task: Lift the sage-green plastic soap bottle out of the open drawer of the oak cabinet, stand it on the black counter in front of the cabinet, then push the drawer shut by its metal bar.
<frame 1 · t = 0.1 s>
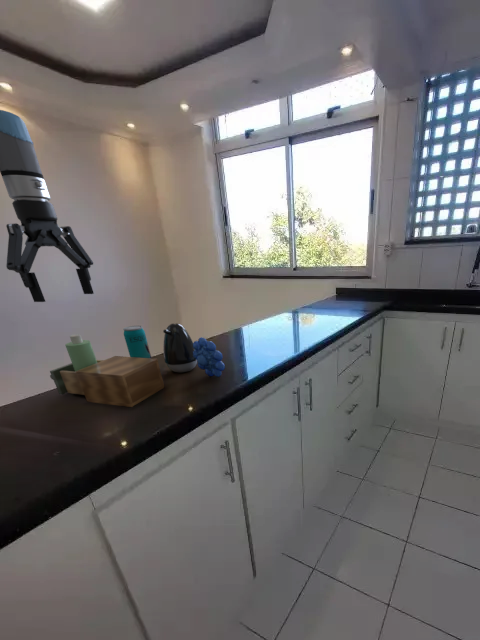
hand: (66, 297, 80), 25 cm above the table, tool pointing down, fingers open, 13 cm apart
soap bottle: (92, 384, 88), point 2 cm above the table, touching drawer
beverage can: (145, 374, 99), on the table
cabinet: (127, 394, 85), on the table
drawer: (86, 376, 87), point 4 cm above the table, slide at 9.0 cm, touching soap bottle
grapes: (209, 377, 95), on the table
pump dispenser: (183, 370, 101), on the table
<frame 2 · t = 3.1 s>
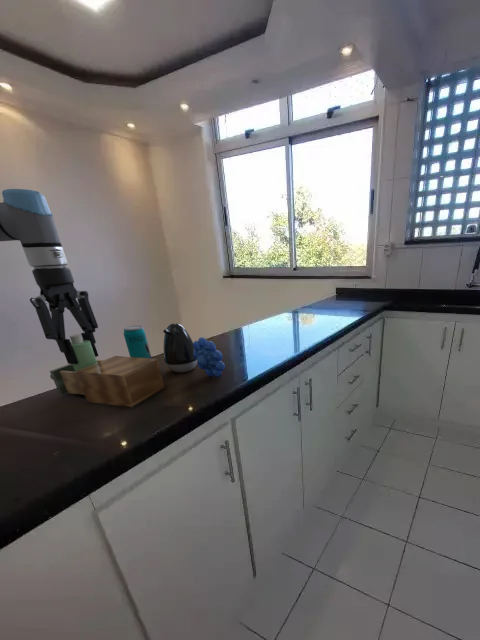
hand: (83, 359, 84), 9 cm above the table, tool pointing down, fingers closed on soap bottle, 6 cm apart
soap bottle: (92, 384, 88), point 2 cm above the table, touching drawer, gripper
everything else where it was.
when the fingers open (7 cm above the table, at t = 10.5 s): soap bottle stays where it is, on the table.
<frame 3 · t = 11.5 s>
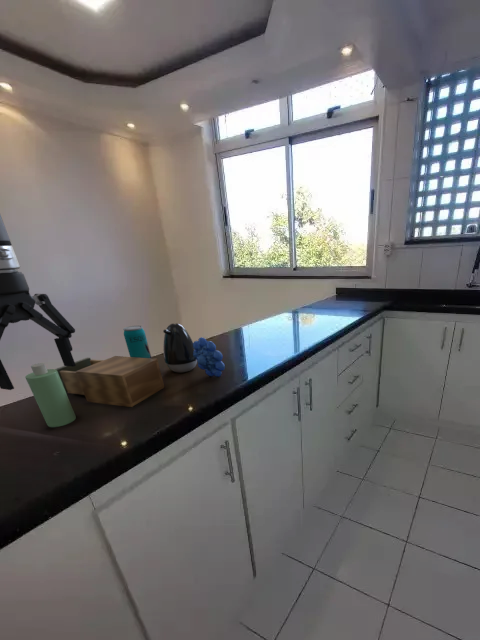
hand: (41, 376, 68), 11 cm above the table, tool pointing down, fingers open, 13 cm apart
soap bottle: (62, 421, 73), on the table
drawer: (86, 376, 87), point 4 cm above the table, slide at 9.0 cm
everything else where it was.
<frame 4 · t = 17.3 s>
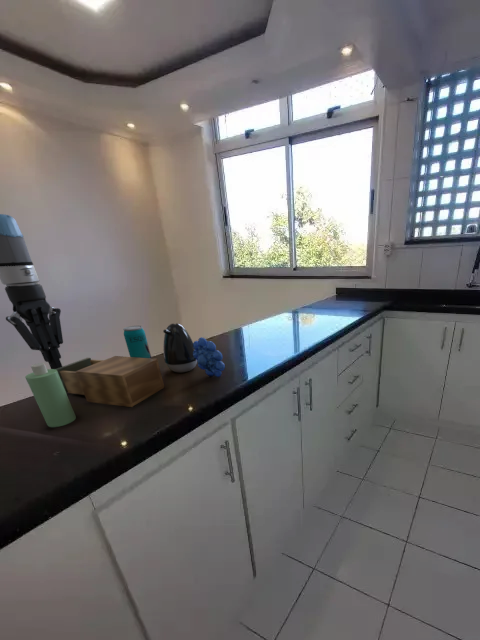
hand: (58, 370, 89), 5 cm above the table, tool pointing down, fingers closed
drawer: (86, 376, 87), point 4 cm above the table, slide at 8.9 cm, touching gripper
everything else where it was.
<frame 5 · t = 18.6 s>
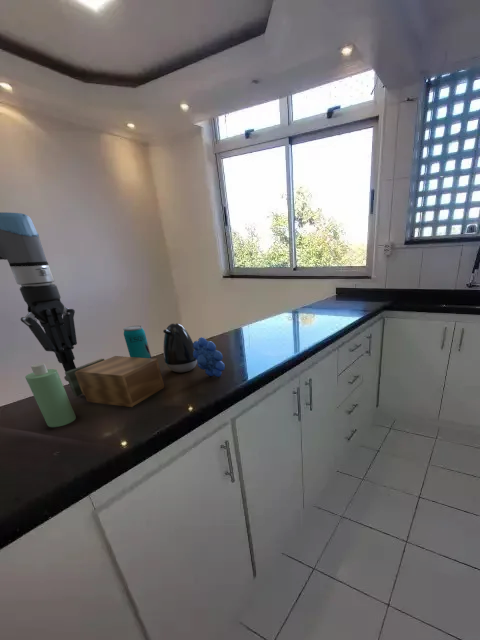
hand: (71, 372, 88), 5 cm above the table, tool pointing down, fingers closed
drawer: (100, 377, 85), point 4 cm above the table, slide at 3.7 cm, touching gripper
everything else where it was.
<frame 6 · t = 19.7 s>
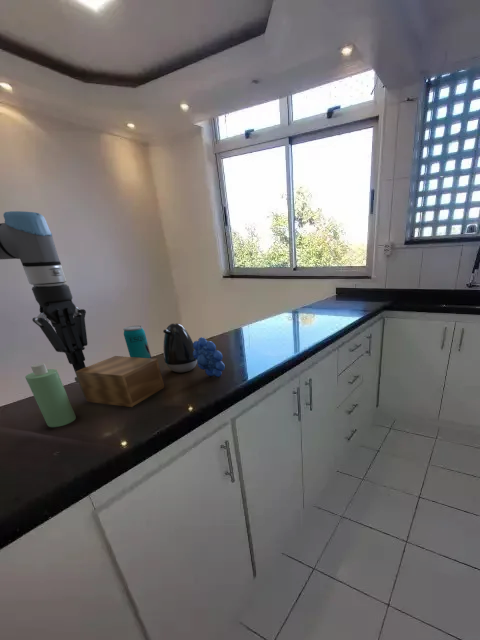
hand: (81, 373, 87), 5 cm above the table, tool pointing down, fingers closed
drawer: (111, 378, 84), point 4 cm above the table, slide at 0.0 cm, touching cabinet, gripper
everything else where it was.
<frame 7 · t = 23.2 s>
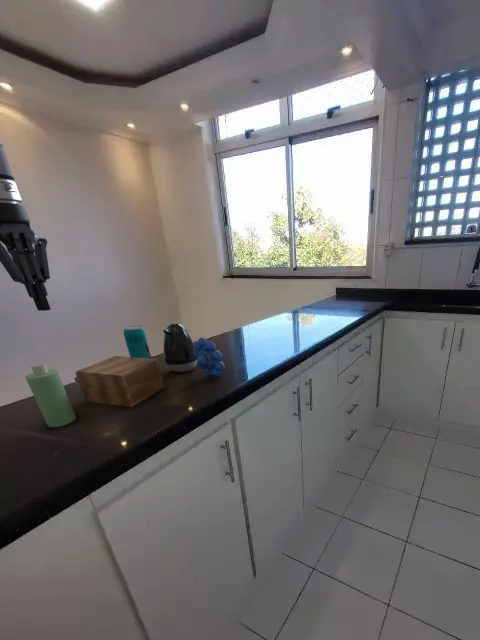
hand: (44, 310, 81), 22 cm above the table, tool pointing down, fingers closed
drawer: (111, 378, 84), point 4 cm above the table, slide at 0.0 cm, touching cabinet
everything else where it was.
at the end: soap bottle inside the target area (0.1 cm from its centre), on the table; soap bottle tilted 0°; drawer slide at 0.0 cm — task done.
